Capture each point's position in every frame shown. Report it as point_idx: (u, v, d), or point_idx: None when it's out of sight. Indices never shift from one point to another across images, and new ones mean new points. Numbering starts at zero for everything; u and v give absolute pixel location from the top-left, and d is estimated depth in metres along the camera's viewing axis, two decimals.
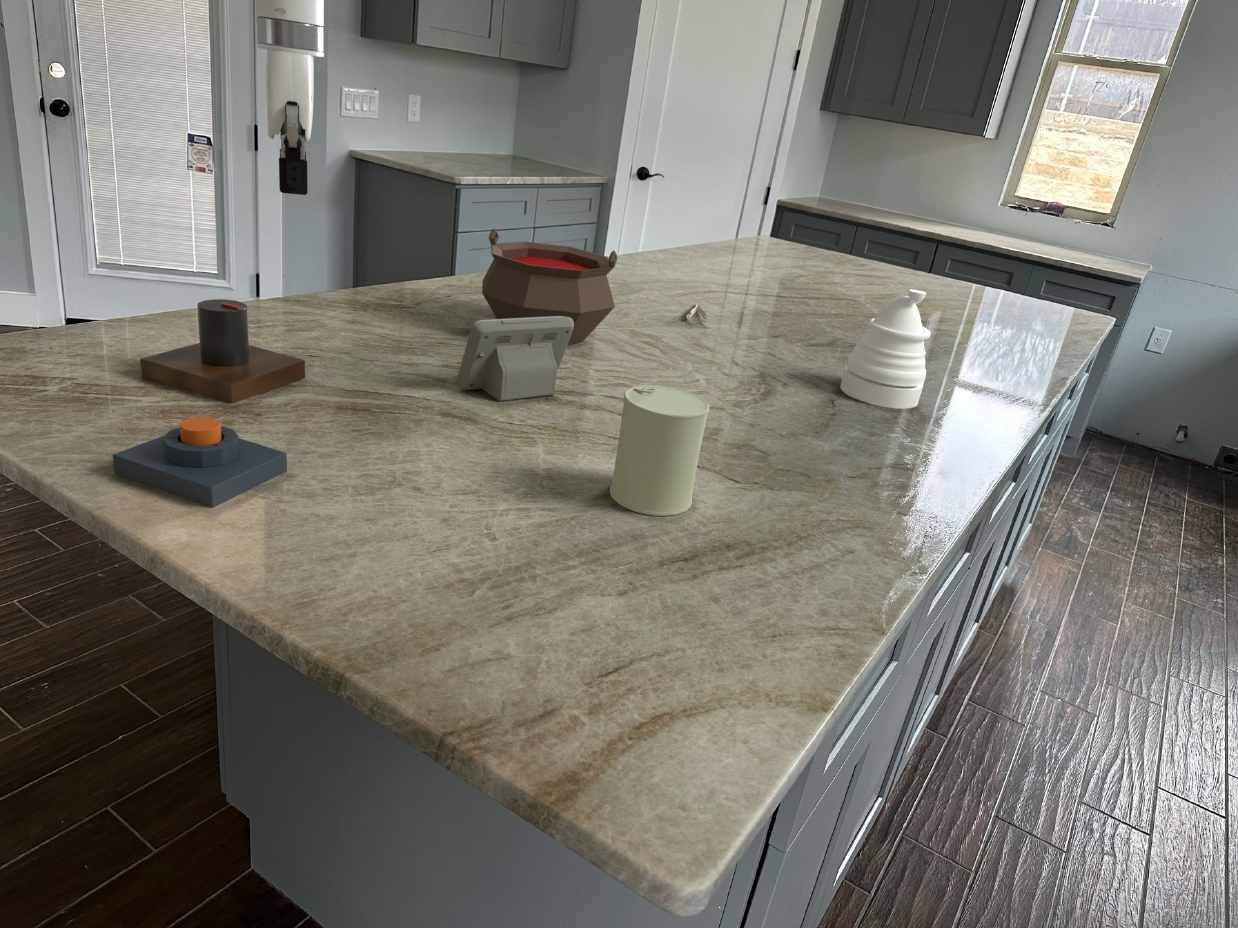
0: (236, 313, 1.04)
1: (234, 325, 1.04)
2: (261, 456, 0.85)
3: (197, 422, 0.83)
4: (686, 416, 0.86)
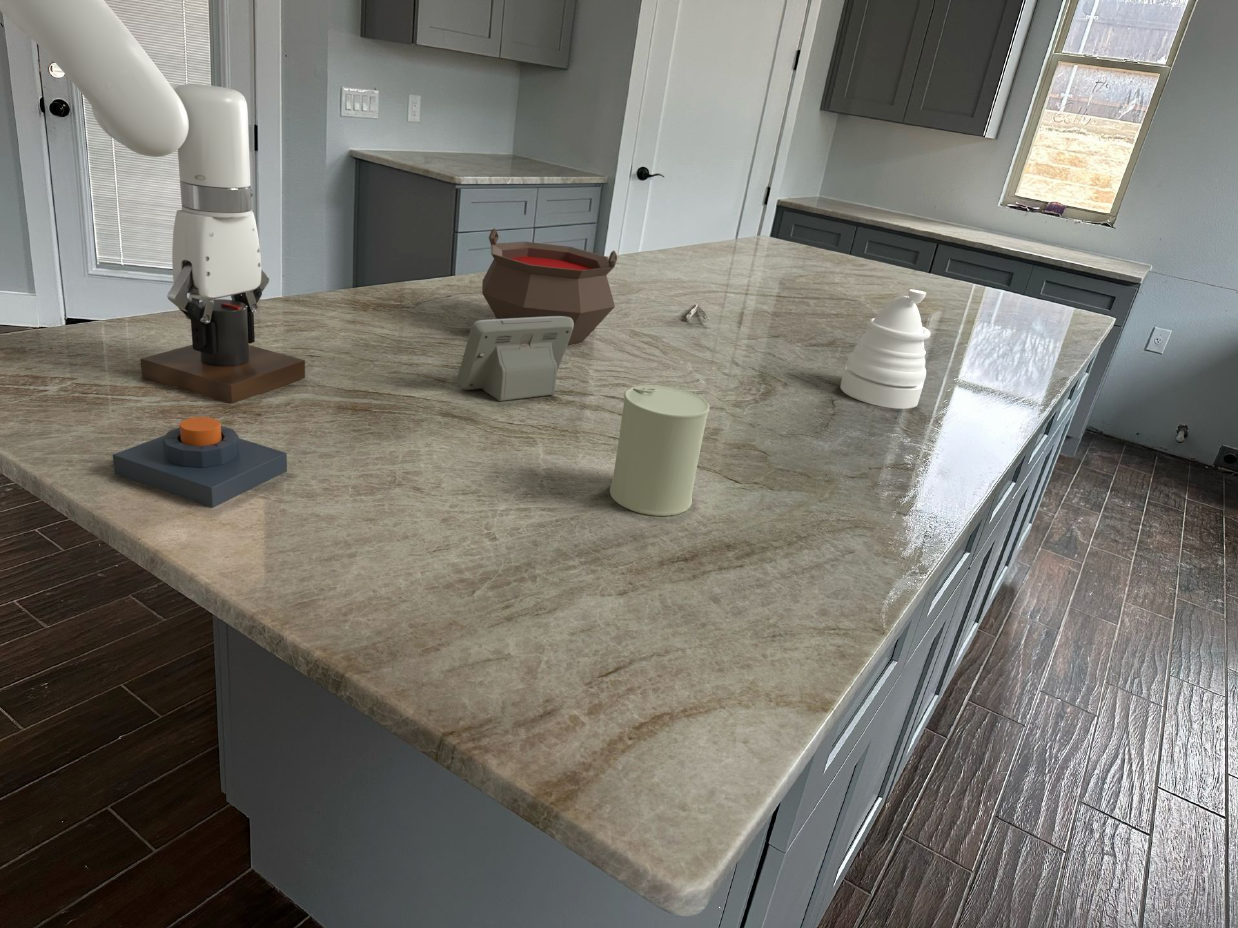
0: (236, 313, 1.04)
1: (234, 325, 1.04)
2: (261, 456, 0.85)
3: (197, 422, 0.83)
4: (686, 416, 0.86)
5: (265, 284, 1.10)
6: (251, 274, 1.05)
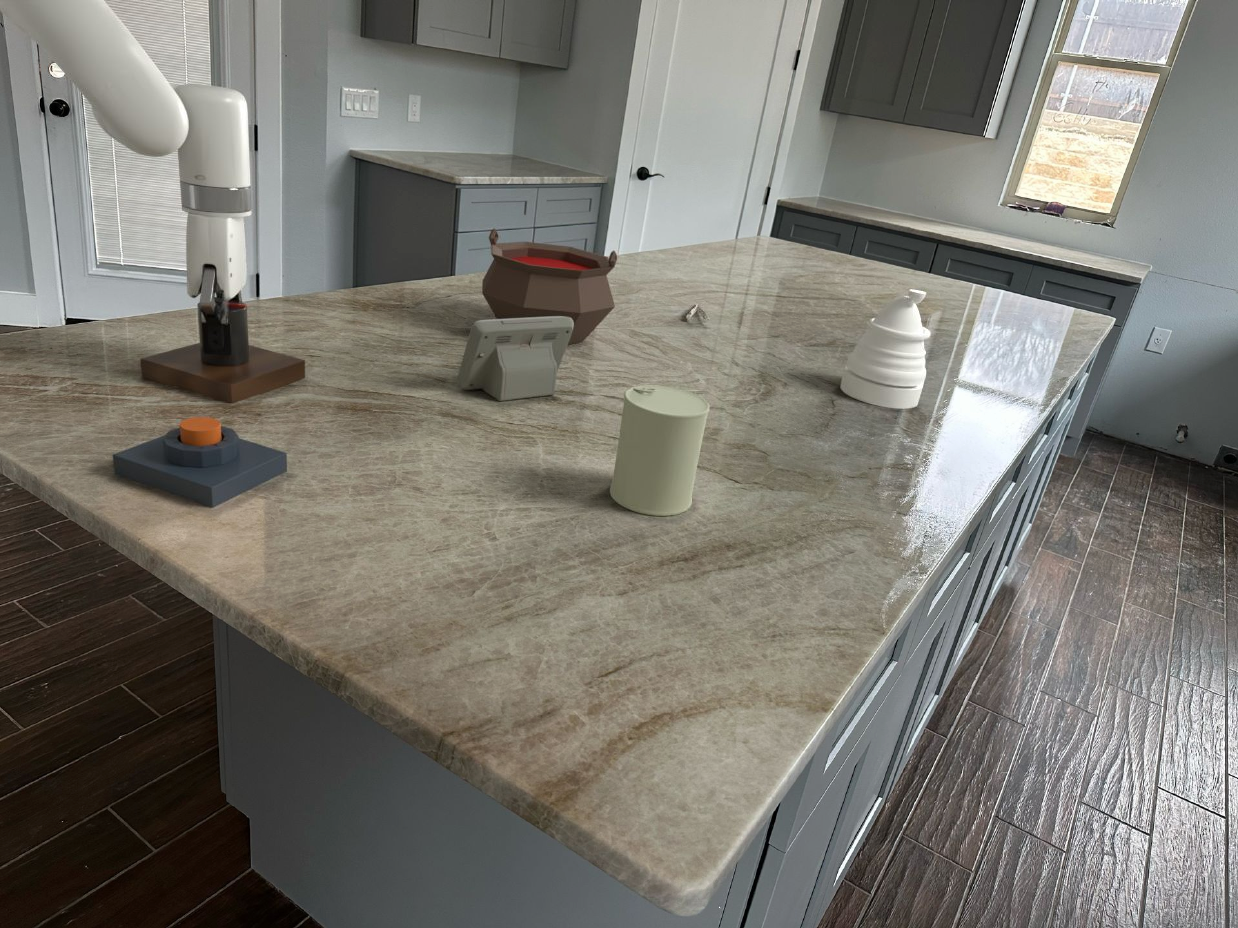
0: (244, 311, 1.05)
1: (243, 323, 1.06)
2: (261, 456, 0.85)
3: (197, 422, 0.83)
4: (686, 416, 0.86)
5: None
6: (244, 270, 1.07)
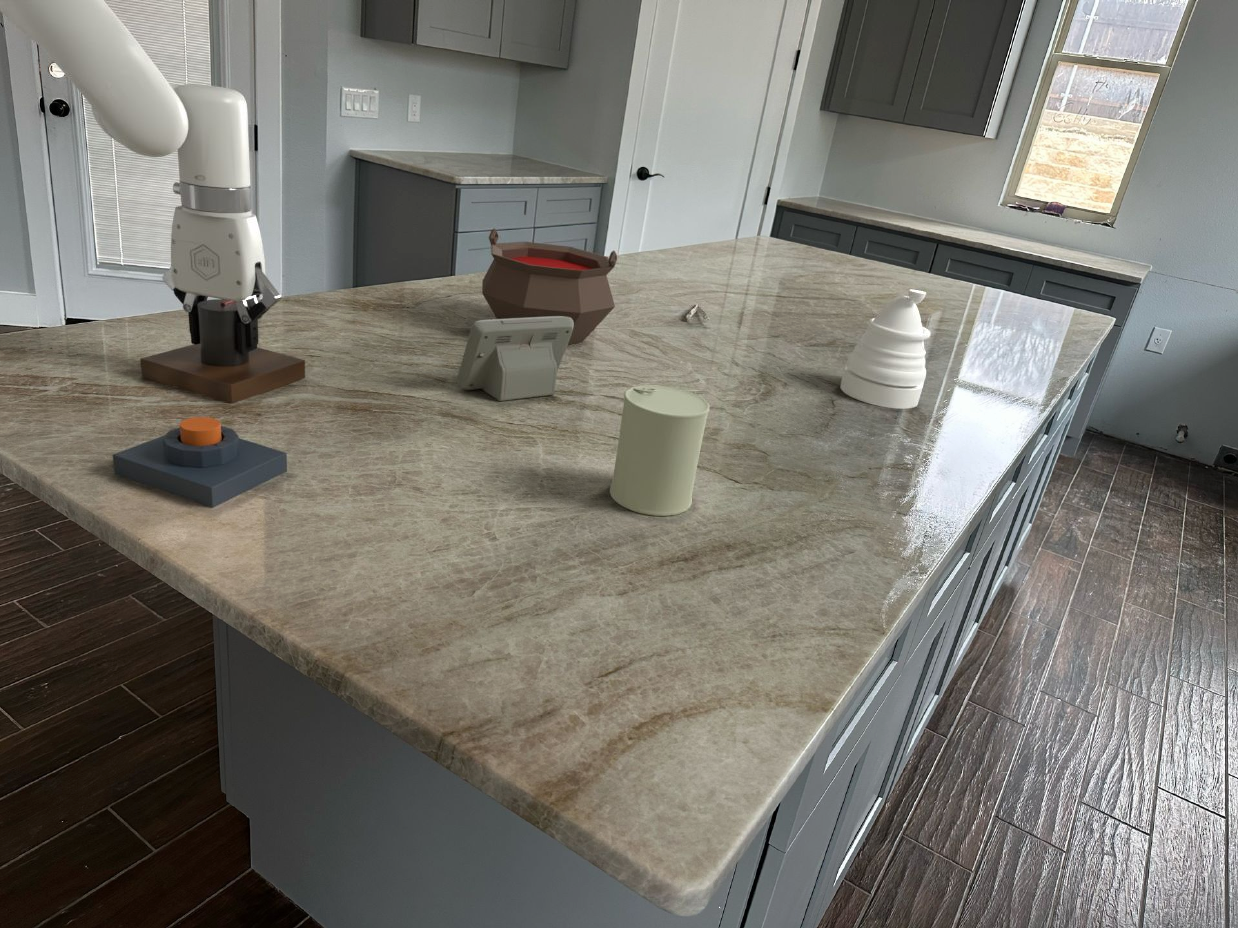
0: None
1: None
2: (261, 456, 0.85)
3: (197, 422, 0.83)
4: (686, 416, 0.86)
5: None
6: None
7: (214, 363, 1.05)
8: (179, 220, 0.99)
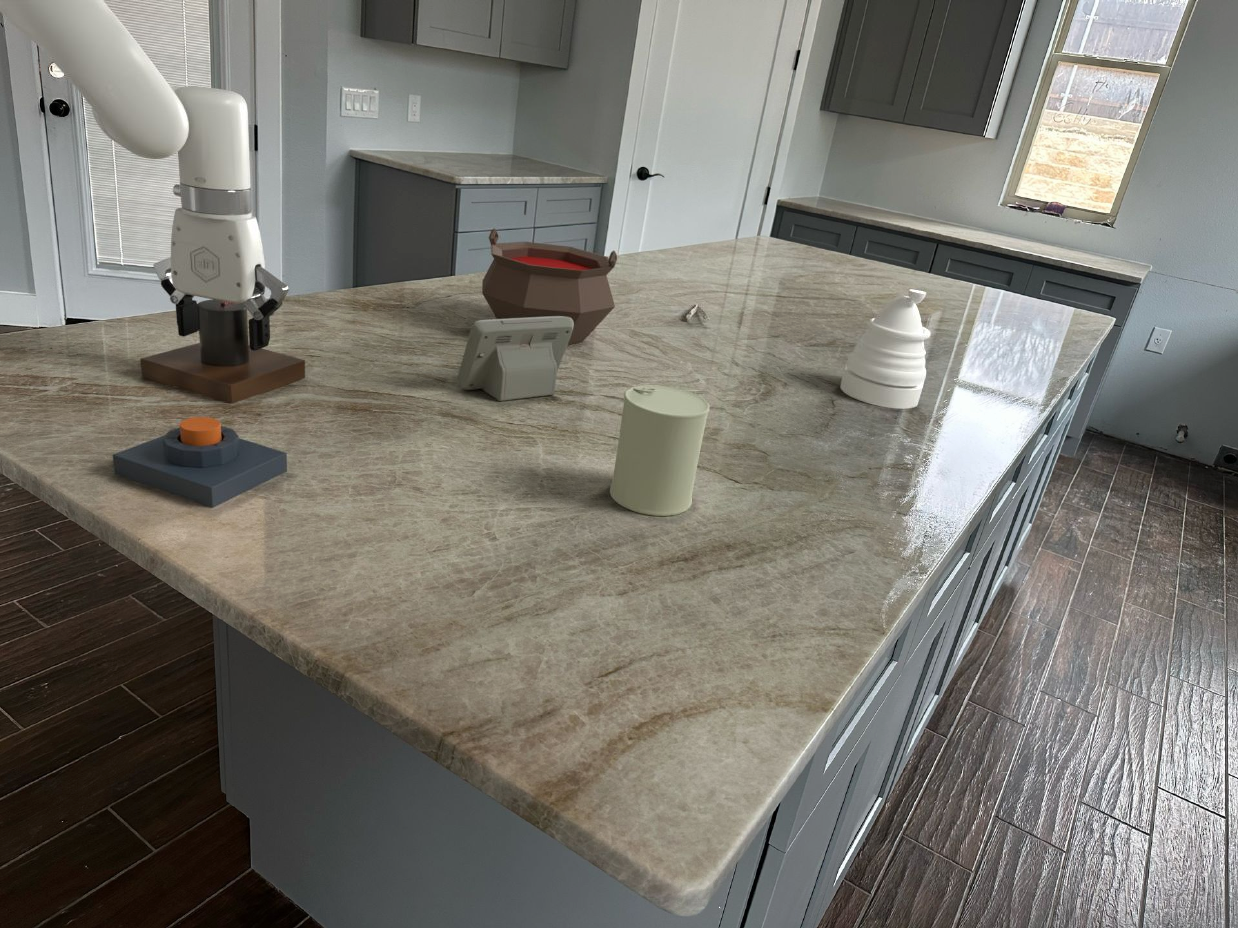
0: None
1: None
2: (261, 456, 0.85)
3: (197, 422, 0.83)
4: (686, 416, 0.86)
5: None
6: None
7: (214, 363, 1.05)
8: (179, 222, 0.99)
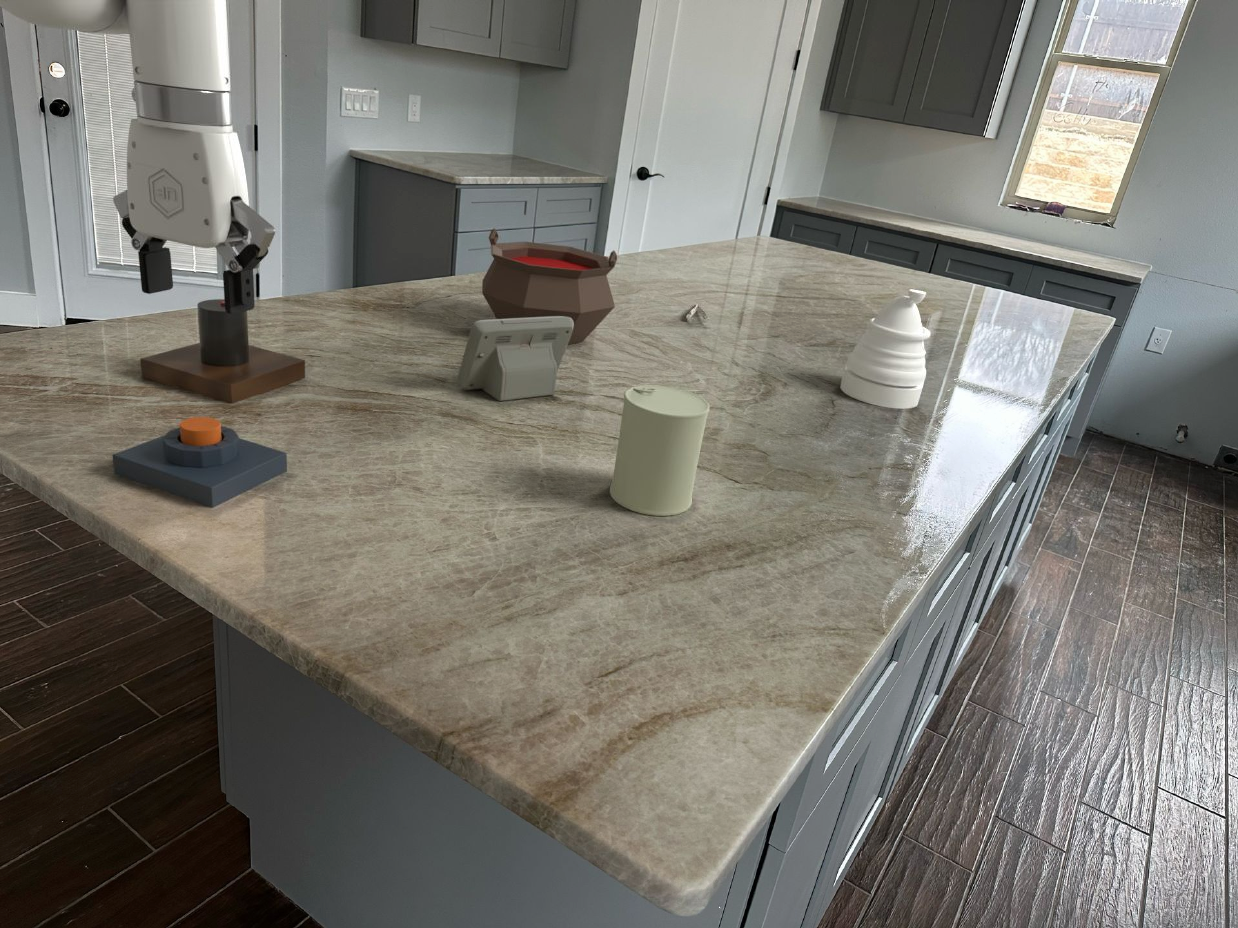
0: None
1: None
2: (261, 456, 0.85)
3: (197, 422, 0.83)
4: (686, 416, 0.86)
5: None
6: None
7: (214, 363, 1.05)
8: (135, 136, 0.74)
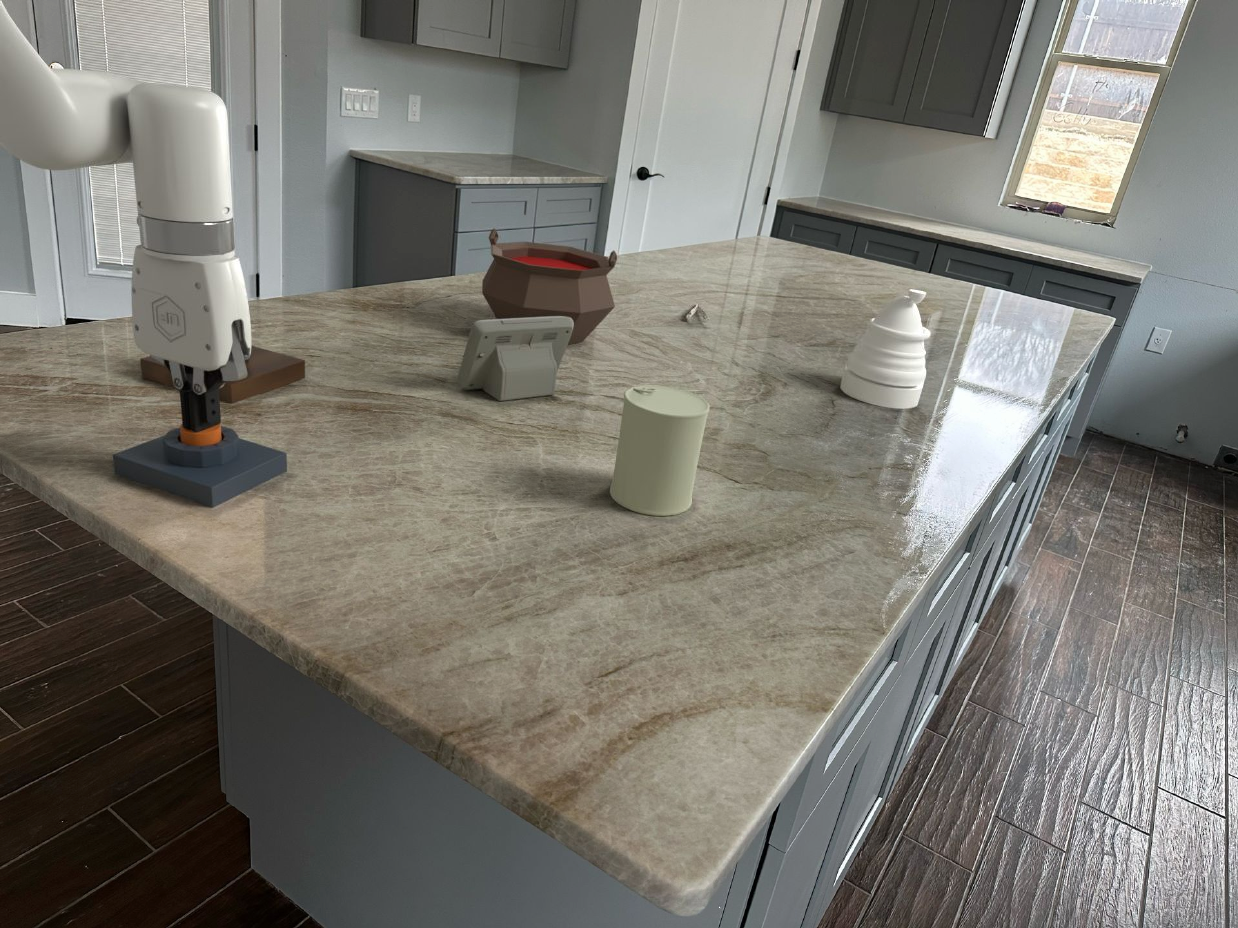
0: None
1: None
2: (261, 456, 0.85)
3: None
4: (686, 416, 0.86)
5: None
6: None
7: None
8: (139, 263, 0.75)
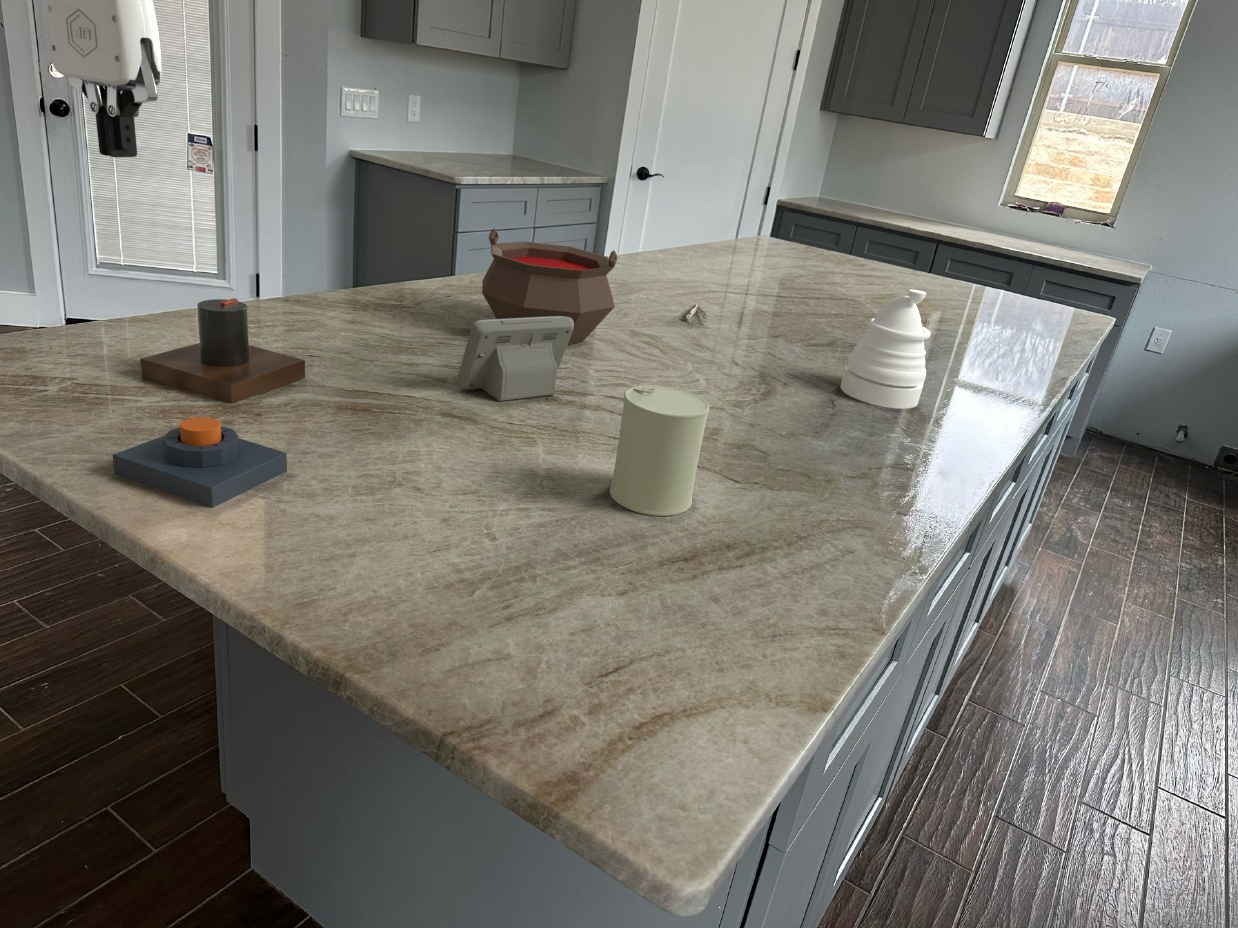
0: None
1: None
2: (261, 456, 0.85)
3: (197, 422, 0.83)
4: (686, 416, 0.86)
5: None
6: None
7: (214, 363, 1.05)
8: None
